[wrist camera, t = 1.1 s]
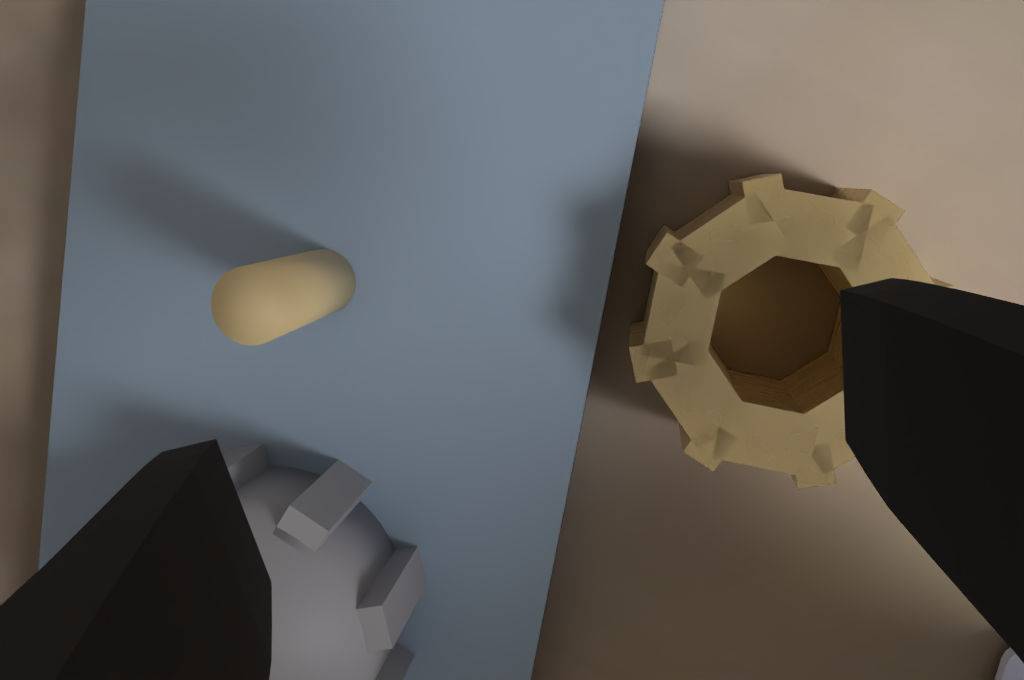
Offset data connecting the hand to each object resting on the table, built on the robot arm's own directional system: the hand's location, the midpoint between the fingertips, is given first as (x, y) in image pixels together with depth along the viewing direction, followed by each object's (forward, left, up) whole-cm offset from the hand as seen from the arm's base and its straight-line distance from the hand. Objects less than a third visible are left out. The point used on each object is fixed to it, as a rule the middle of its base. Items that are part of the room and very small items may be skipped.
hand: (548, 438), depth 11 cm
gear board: (+6, 0, -10) cm, 12 cm away
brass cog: (-4, -1, -10) cm, 11 cm away
